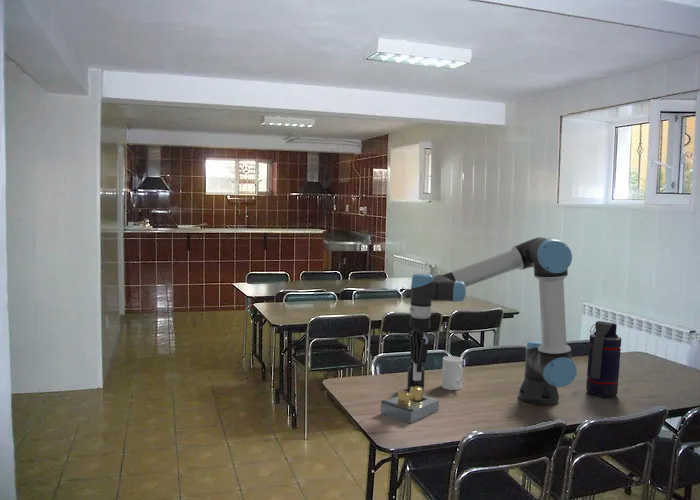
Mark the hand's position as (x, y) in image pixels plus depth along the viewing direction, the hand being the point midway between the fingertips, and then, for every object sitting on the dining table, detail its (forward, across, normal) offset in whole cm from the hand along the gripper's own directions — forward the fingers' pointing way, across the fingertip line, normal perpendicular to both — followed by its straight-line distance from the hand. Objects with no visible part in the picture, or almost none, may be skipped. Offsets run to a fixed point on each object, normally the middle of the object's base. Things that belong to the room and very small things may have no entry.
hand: (417, 379), depth 215 cm
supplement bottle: (+11, -20, +10) cm, 25 cm away
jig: (+11, +2, -3) cm, 12 cm away
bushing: (+11, 0, 0) cm, 11 cm away
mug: (+11, -18, +26) cm, 34 cm away
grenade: (+11, +4, +82) cm, 83 cm away
